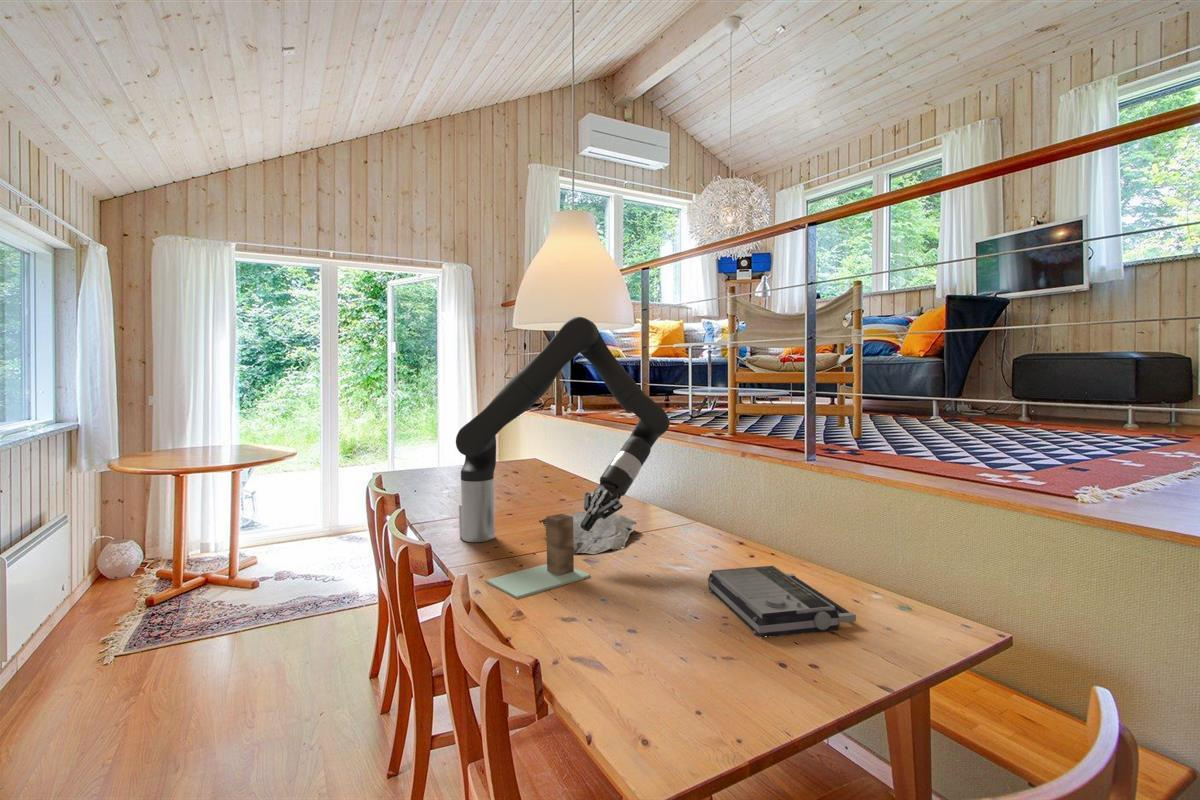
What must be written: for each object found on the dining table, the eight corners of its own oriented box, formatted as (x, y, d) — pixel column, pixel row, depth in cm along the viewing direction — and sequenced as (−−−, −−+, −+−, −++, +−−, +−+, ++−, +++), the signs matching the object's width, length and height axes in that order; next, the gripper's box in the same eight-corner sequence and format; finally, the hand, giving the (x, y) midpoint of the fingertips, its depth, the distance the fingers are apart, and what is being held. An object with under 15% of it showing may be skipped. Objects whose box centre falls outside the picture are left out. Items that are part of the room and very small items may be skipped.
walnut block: (562, 566, 142) (561, 513, 141) (573, 571, 138) (573, 516, 138) (547, 571, 139) (546, 516, 138) (558, 575, 135) (557, 520, 135)
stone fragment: (661, 544, 164) (661, 521, 163) (570, 561, 149) (570, 536, 149) (612, 522, 186) (612, 502, 185) (528, 535, 171) (529, 513, 170)
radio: (706, 567, 127) (791, 560, 131) (706, 591, 128) (791, 584, 132) (759, 612, 103) (860, 603, 107) (759, 642, 104) (860, 631, 108)
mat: (557, 563, 146) (557, 561, 146) (590, 576, 136) (590, 574, 136) (486, 582, 133) (486, 579, 133) (516, 598, 123) (516, 596, 123)
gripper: (596, 461, 153) (558, 514, 146) (631, 467, 143) (592, 525, 136) (611, 478, 157) (575, 532, 150) (646, 485, 147) (610, 543, 140)
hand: (584, 528), depth 143 cm, fingers closed
